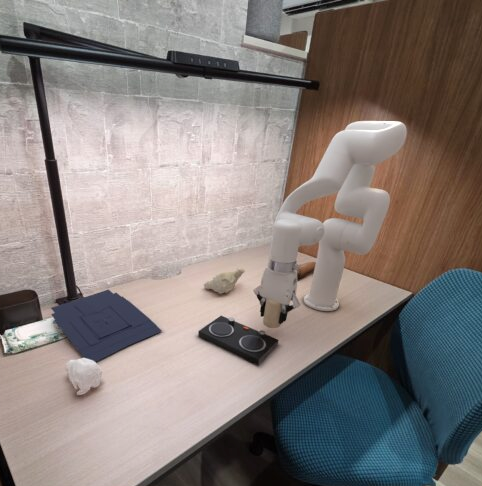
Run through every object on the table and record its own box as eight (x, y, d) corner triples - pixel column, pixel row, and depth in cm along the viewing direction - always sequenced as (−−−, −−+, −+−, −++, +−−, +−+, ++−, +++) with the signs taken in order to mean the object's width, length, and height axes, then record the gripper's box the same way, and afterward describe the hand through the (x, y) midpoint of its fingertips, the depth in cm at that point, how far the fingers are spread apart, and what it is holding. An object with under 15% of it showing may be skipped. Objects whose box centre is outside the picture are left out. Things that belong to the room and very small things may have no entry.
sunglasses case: (303, 264, 152) (311, 254, 147) (313, 274, 150) (322, 265, 145) (282, 274, 141) (291, 264, 136) (293, 285, 139) (302, 276, 134)
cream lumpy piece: (204, 302, 121) (236, 285, 113) (197, 285, 121) (228, 266, 114) (222, 298, 134) (252, 282, 126) (215, 283, 135) (244, 266, 127)
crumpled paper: (75, 372, 69) (52, 352, 76) (83, 403, 72) (60, 380, 80) (101, 359, 73) (77, 341, 80) (107, 389, 76) (84, 368, 84)
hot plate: (220, 320, 106) (221, 312, 104) (277, 345, 95) (279, 336, 93) (198, 336, 97) (198, 327, 96) (258, 365, 86) (259, 356, 84)
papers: (113, 294, 117) (113, 285, 115) (162, 337, 100) (163, 328, 98) (45, 316, 102) (44, 307, 100) (90, 371, 85) (89, 362, 83)
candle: (269, 317, 102) (273, 289, 98) (283, 324, 99) (289, 295, 94) (259, 323, 99) (263, 294, 94) (274, 330, 96) (278, 301, 91)
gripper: (315, 268, 88) (303, 323, 96) (261, 253, 97) (254, 305, 105) (305, 276, 82) (293, 334, 91) (248, 260, 91) (242, 313, 100)
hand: (272, 318), depth 98 cm, fingers closed on candle, 5 cm apart
